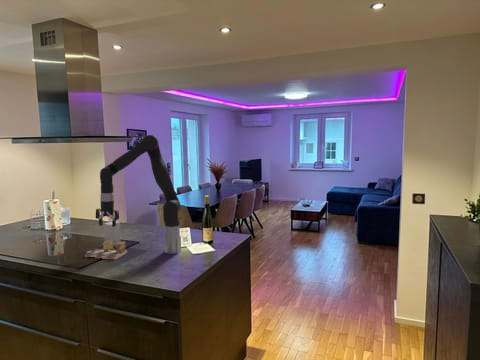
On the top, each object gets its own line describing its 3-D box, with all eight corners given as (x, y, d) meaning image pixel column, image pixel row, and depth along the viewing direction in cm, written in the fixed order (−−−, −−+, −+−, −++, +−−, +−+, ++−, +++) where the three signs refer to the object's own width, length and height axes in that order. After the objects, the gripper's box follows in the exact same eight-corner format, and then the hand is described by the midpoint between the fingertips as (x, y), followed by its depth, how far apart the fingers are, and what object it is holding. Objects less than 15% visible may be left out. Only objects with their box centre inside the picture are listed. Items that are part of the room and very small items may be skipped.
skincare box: (114, 242, 217) (114, 220, 215) (121, 244, 213) (120, 221, 212) (104, 245, 209) (103, 223, 208) (110, 247, 206) (109, 224, 204)
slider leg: (112, 249, 196) (112, 240, 196) (105, 254, 188) (104, 244, 188) (108, 249, 197) (108, 240, 196) (100, 253, 189) (100, 244, 188)
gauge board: (127, 252, 197) (126, 240, 196) (115, 259, 184) (115, 247, 184) (98, 250, 201) (97, 238, 200) (84, 257, 188) (84, 245, 187)
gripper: (121, 199, 193) (121, 225, 195) (100, 198, 195) (100, 223, 197) (114, 201, 186) (114, 228, 187) (92, 200, 188) (93, 226, 190)
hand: (107, 226), depth 192 cm, fingers open, 8 cm apart
